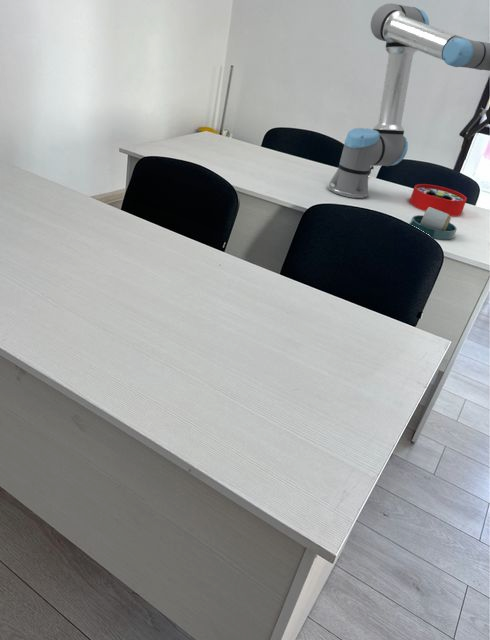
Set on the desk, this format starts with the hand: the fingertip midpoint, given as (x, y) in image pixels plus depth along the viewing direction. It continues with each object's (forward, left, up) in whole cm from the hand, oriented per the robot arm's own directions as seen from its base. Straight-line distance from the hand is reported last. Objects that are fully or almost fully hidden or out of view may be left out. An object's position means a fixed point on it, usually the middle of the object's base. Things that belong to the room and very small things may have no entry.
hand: (483, 164), depth 191 cm
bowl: (+7, -8, -24) cm, 26 cm away
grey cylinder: (+7, -8, -24) cm, 26 cm away
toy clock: (-27, -10, -24) cm, 37 cm away
